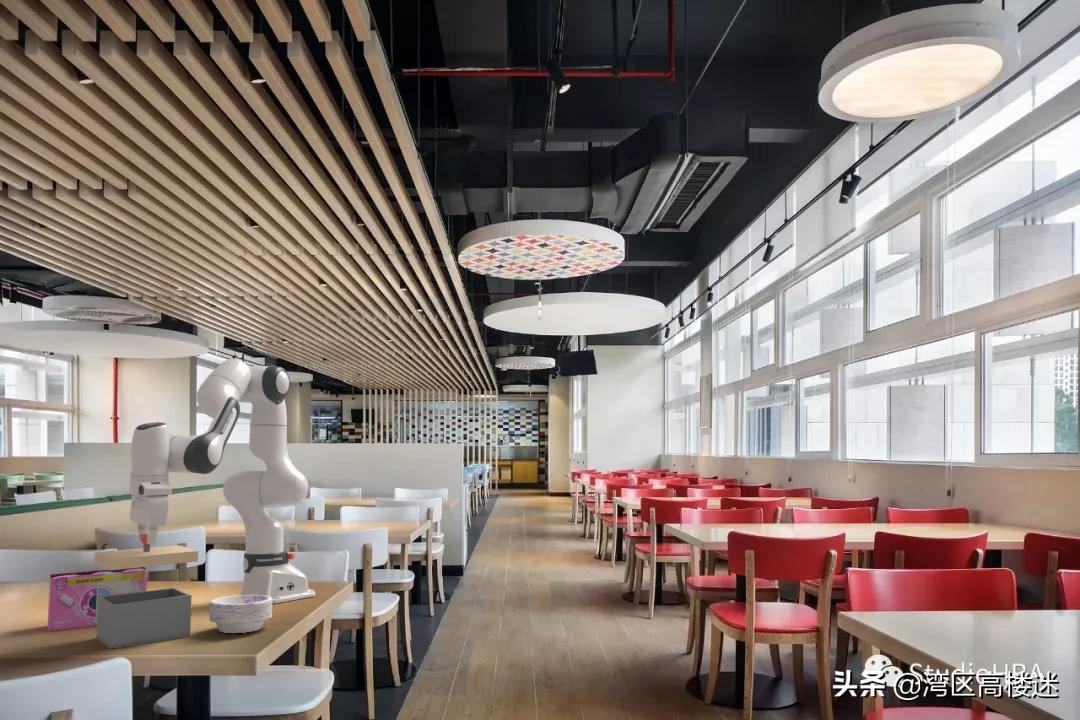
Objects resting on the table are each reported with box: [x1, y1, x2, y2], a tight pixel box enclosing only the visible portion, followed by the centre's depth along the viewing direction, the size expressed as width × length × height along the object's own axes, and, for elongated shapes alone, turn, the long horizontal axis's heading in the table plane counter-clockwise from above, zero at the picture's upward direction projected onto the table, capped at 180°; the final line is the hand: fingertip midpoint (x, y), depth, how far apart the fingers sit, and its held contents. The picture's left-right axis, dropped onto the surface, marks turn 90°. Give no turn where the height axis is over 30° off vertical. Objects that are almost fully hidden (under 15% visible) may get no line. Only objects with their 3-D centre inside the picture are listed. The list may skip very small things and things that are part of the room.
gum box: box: [47, 567, 150, 632], centre depth 219 cm, size 24×8×14 cm, turn 123°
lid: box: [93, 533, 199, 570], centre depth 203 cm, size 20×16×7 cm
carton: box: [96, 587, 192, 650], centre depth 202 cm, size 18×14×10 cm
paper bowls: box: [208, 594, 273, 634], centre depth 208 cm, size 15×15×8 cm
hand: (147, 542), depth 203 cm, fingers open, 6 cm apart
